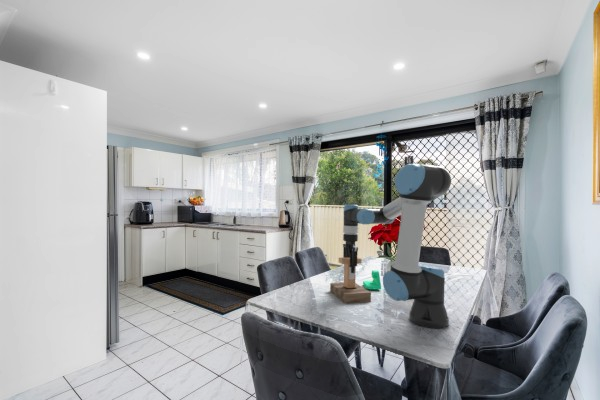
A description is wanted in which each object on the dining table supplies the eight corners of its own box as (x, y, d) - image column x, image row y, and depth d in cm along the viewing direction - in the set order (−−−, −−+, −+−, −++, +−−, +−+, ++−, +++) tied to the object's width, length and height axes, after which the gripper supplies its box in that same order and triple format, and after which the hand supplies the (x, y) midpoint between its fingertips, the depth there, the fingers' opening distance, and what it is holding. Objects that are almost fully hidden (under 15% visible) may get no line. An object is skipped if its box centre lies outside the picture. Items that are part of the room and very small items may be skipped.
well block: (370, 301, 143) (370, 292, 143) (345, 303, 139) (345, 294, 139) (353, 289, 162) (353, 281, 162) (330, 291, 159) (330, 283, 159)
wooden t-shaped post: (360, 287, 150) (361, 258, 150) (341, 288, 147) (342, 259, 148) (356, 284, 155) (357, 257, 155) (338, 285, 152) (338, 257, 152)
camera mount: (362, 285, 173) (362, 268, 173) (375, 285, 173) (375, 268, 173) (367, 291, 161) (367, 272, 161) (380, 291, 161) (381, 273, 161)
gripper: (364, 235, 144) (363, 281, 144) (349, 231, 161) (349, 273, 161) (351, 235, 142) (350, 282, 142) (337, 231, 159) (336, 273, 159)
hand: (349, 277), depth 151 cm, fingers closed on wooden t-shaped post, 4 cm apart
